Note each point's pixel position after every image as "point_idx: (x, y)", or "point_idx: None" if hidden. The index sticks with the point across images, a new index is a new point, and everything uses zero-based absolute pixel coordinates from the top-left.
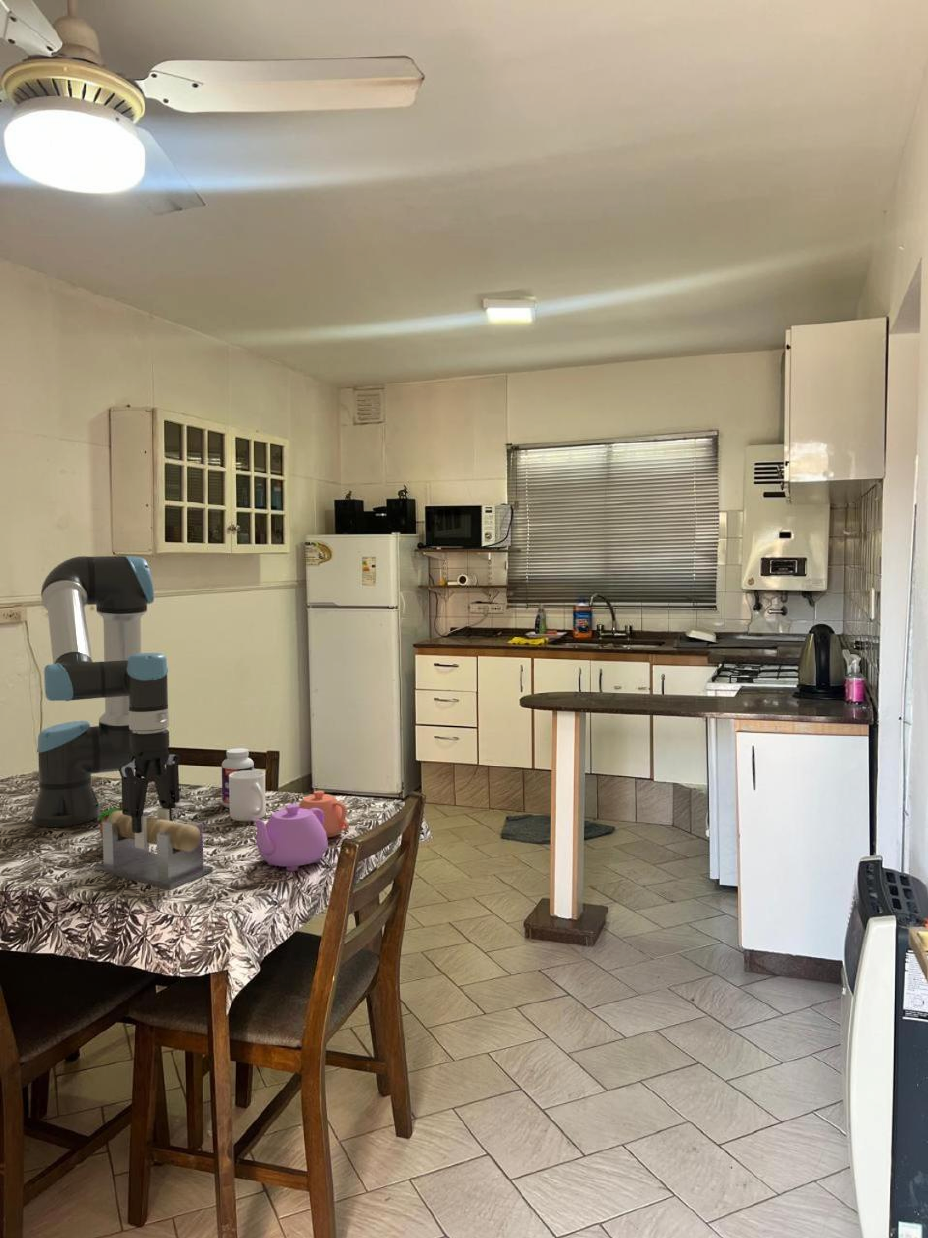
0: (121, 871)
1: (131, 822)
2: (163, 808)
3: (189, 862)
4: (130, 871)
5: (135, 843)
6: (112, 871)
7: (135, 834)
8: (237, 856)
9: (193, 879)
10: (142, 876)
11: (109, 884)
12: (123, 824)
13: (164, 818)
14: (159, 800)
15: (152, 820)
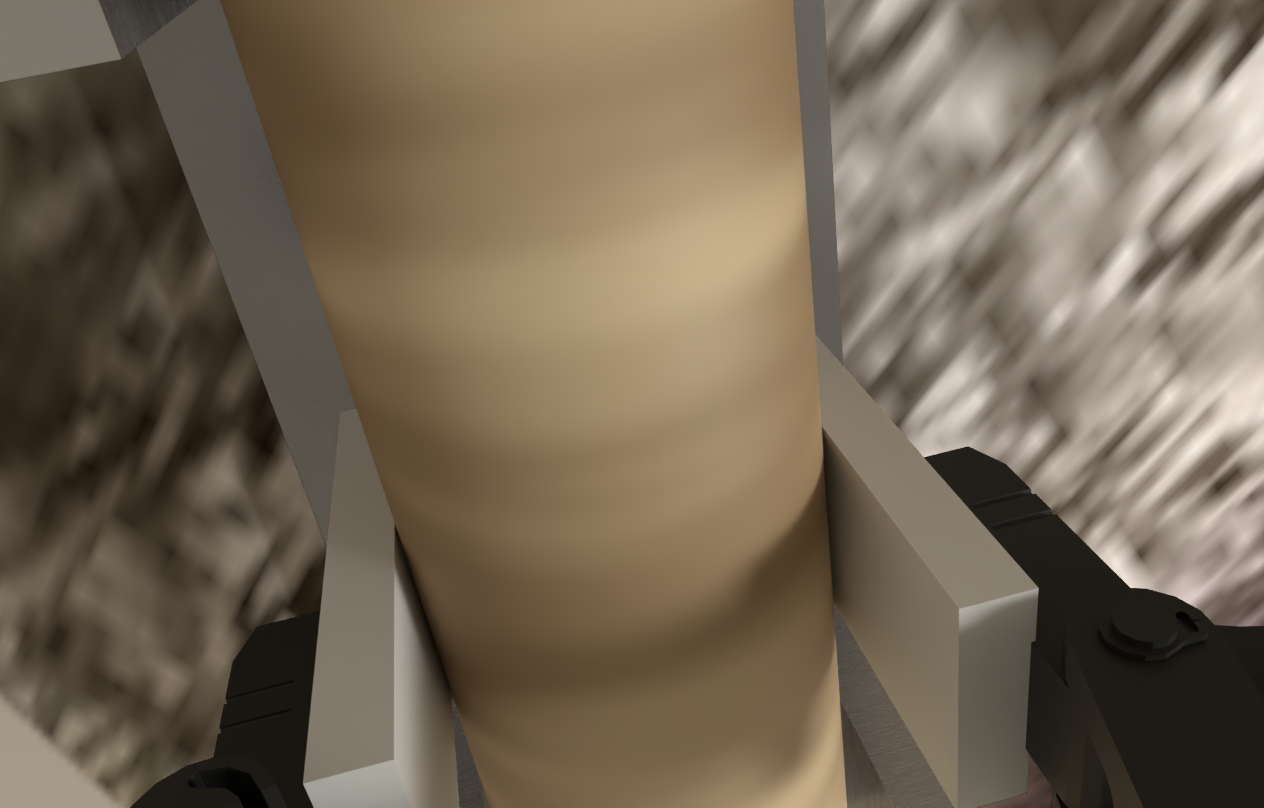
0: (209, 192)
1: (383, 364)
2: (1013, 696)
3: None
4: (293, 268)
5: (339, 450)
6: (139, 48)
7: (335, 532)
8: (1197, 460)
9: None
10: (327, 483)
11: (21, 296)
12: (277, 137)
13: (880, 647)
14: (1111, 754)
15: (615, 764)
